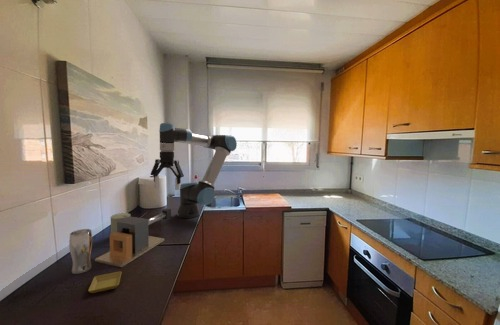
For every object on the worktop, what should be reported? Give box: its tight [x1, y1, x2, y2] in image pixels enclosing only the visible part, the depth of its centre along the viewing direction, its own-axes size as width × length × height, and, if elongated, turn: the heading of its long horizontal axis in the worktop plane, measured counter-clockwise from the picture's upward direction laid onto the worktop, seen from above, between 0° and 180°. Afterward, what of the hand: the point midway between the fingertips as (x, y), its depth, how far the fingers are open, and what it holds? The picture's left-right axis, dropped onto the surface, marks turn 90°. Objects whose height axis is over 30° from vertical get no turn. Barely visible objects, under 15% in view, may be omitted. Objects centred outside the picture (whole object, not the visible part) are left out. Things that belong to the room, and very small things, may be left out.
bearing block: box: [94, 216, 165, 268], centre depth 99 cm, size 26×14×14 cm, turn 164°
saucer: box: [87, 271, 122, 294], centre depth 74 cm, size 9×9×2 cm
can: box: [109, 212, 132, 234], centre depth 112 cm, size 9×9×12 cm
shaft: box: [147, 208, 172, 226], centre depth 111 cm, size 27×3×5 cm, turn 164°
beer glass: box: [68, 228, 93, 275], centre depth 82 cm, size 7×7×15 cm
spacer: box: [109, 232, 132, 258], centre depth 93 cm, size 3×9×9 cm, turn 74°
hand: (166, 188), depth 121 cm, fingers open, 13 cm apart
